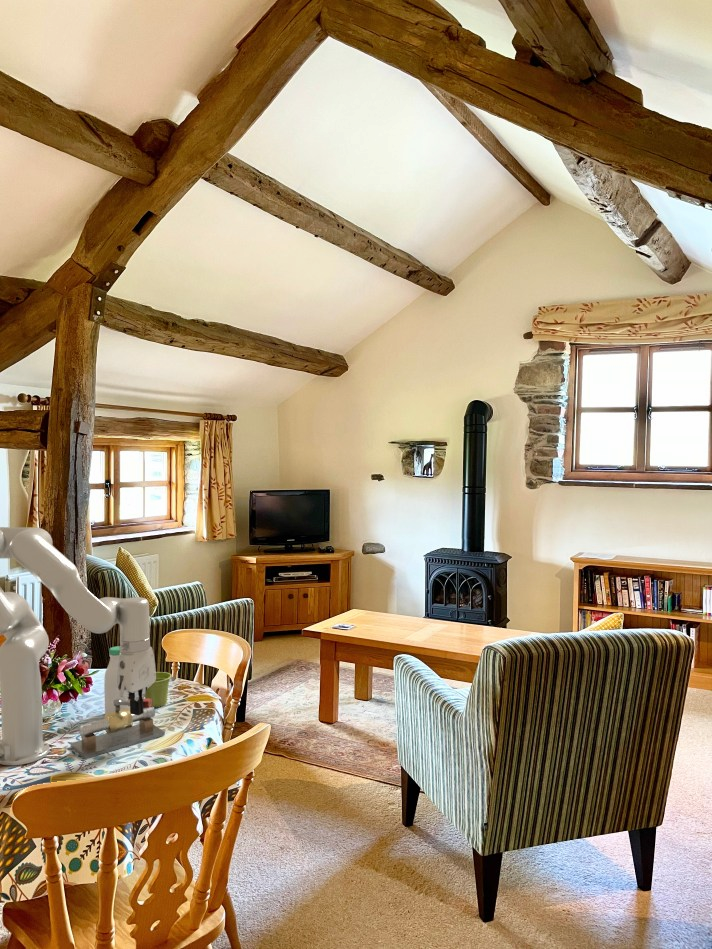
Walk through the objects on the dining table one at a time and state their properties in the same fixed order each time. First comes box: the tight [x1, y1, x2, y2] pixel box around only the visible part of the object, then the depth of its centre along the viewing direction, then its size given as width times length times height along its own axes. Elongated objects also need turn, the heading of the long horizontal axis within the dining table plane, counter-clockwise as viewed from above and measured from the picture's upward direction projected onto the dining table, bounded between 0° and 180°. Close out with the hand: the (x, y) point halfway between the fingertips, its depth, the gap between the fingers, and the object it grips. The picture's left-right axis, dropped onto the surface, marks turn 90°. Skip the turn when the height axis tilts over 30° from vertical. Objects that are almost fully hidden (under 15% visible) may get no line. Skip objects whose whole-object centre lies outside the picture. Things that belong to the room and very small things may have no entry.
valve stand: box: [70, 706, 166, 760], centre depth 190 cm, size 22×10×10 cm, turn 131°
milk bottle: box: [103, 645, 130, 715], centre depth 210 cm, size 8×8×20 cm
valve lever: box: [113, 697, 152, 709], centre depth 190 cm, size 10×2×2 cm, turn 86°
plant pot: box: [144, 671, 172, 708], centre depth 218 cm, size 9×9×9 cm
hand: (136, 713), depth 187 cm, fingers closed
